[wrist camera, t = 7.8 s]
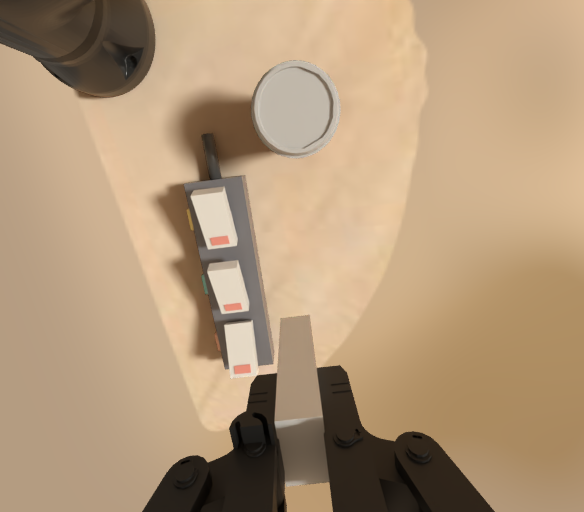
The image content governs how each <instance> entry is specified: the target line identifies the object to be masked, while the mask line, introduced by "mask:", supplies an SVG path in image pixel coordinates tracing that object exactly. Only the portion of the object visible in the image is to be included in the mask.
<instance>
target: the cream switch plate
mask: <svg viewBox="0 0 584 512" xmlns="http://www.w3.org/2000/svg"><path fill="white" fill-rule="evenodd" d="M207 273H208V276H209V279H210V282H211V284H212V287H213V290H214V293H215V296H216V299H217V302H218V305H219V307H220V310H221V313H222V314H227V313H236V312H244V311H249V299H248V295H247V292H246V288H245V284H244V281H243V277H242V273H241V269H240V266H239V262H238V260H235V261H227V262H219V263H211V264H209V267H208V270H207Z"/></svg>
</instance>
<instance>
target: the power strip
mask: <svg viewBox="0 0 584 512" xmlns="http://www.w3.org/2000/svg"><path fill="white" fill-rule="evenodd" d="M201 136H202V141H203V146H204V151H205V156H206V161H207V166H208V171H209V176H210V180H206V181H198V182H191V183H186V184H184V188H185V192H186V196H187V201H188V205H189V209H187V210H186V211H187V215H188V220H189V224H190V229H191V230H194V232H195V237H196V241H197V246H198V250H199V255H200V259H201V264H202V268H203V273H204V274H202V276H201V277H202V282H203V286H204V291H205V294H208V295H209V300H210V304H211V309H212V313H213V318H214V322H215V327H216V331H217V332H215V339H216V344H217V348H218V351H221V354H222V358H223V362H224V367H225V369H229V362H228V353H227V345H226V336H225V327H224V325H225V324H226V323H229V322H237V321H246V320H253V328H254V336H255V344H256V353H257V361H258V366H260V365H269V364H273V361H274V347H273V341H272V335H271V329H270V323H269V316H268V310H267V304H266V298H265V292H264V286H263V280H262V274H261V268H260V262H259V256H258V250H257V244H256V238H255V232H254V226H253V220H252V213H251V207H250V201H249V195H248V189H247V183H246V177H245V175H244V176H236V177H229V178H221V173H220V167H219V162H218V157H217V151H216V146H215V140H214V135H213V134H203V135H201ZM216 187H225V191H226V195H227V199H228V203H229V207H230V211H231V214H232V218H233V222H234V226H235V230H236V234H237V238H238V241H237V246H232V247H224V248H216V249H208V248H207V245H206V242H205V239H204V236H203V233H202V230H201V226H200V223H199V220H198V217H197V214H196V211H195V208H194V205H193V202H192V199H191V194H192V192H193V191H194V190H201V189H208V188H216ZM235 260H238V262H239V266H240V269H241V273H242V277H243V281H244V284H245V288H246V292H247V295H248V299H249V311H244V312H236V313H227V314H222V313H221V310H220V307H219V305H218V302H217V299H216V296H215V293H214V290H213V287H212V284H211V282H210V279H209V276H208V273H207V270H208V267H209V264H211V263H219V262H227V261H235Z"/></svg>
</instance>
